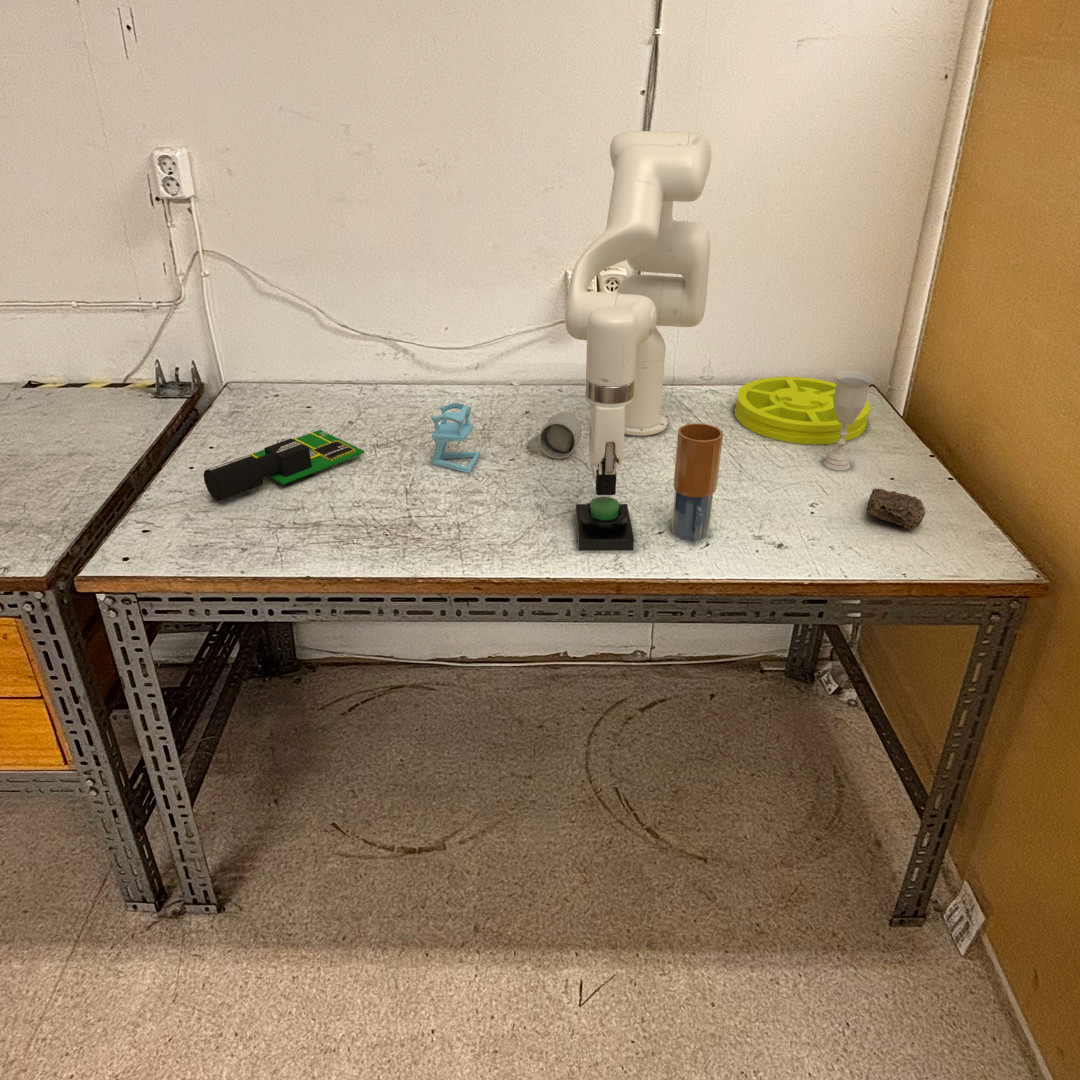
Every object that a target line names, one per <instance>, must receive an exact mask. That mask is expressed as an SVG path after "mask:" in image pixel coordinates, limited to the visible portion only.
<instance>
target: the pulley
mask: <svg viewBox="0 0 1080 1080" xmlns="http://www.w3.org/2000/svg"><path fill="white" fill-rule="evenodd" d="M836 383H837V382H832V381H827V380H823V379H818V378H812V377H804V376H803V377H802V376H773V377H765V378H759V379H755V380H752V381H749V382H747V383H745V384H744V385H742V386H741V387H739V389H738V390H737V392H736V399H735V408H734V416H735V418H736V420H737V421H738V423H739V424H740V425H742V426H743V427H744V428H746V429H748V430H749V431H751V432H753V433H755V434H758V435H760V436H763V437H765V438H768V439H769V438H770V439H773V440H777V441H781V442H785V443H792V444H793V443H794V444H802V445H831V444H832V445H833V444H838V443H837V440H839V438H840V434H839V432H840V430H841V428H842V424H841V423H839V422H838V420H837V416H836V413H835V409H834V403H833V399H834V394H835V388H836ZM869 412H870V403H869V401H868V399H866V403H865V406H864V408H863V409H862V411H861V413H860V414H859V415H858V417H857V418H856V419H855V421H854V422H853V423H852V424H849V425H847V428H846V432H847V435H846V436H845V438H844V439H845V442H847V441H851V440H853V439H856V438H857V437H859V436H861V435H862V434H863V433H864V432H865V430H866V427H867V422H868V417H869V414H870V413H869Z"/></svg>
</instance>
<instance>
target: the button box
mask: <svg viewBox="0 0 1080 1080" xmlns="http://www.w3.org/2000/svg"><path fill="white" fill-rule="evenodd" d="M590 503H591V502H589V503H576V504H575V524H576V525H575V526H576V535H577V546H578V551H579V552H588V551H589V552H593V551H594V552H596V551H597V552H598V551H599V552H601V551H603V552H609V551H610V552H614V551H615V552H616V551H617V552H619V551H621V552H622V551H628V552H629V551H633V552H634V546H635V537H634V532H633V527H632V522H631V521H632V520H631V517H630V511H629V506H628V503H619V515H618V517H617V518H614V519H611V520H599V519H596V518H593V517H592V516H591V515H590Z"/></svg>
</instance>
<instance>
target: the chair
mask: <svg viewBox="0 0 1080 1080" xmlns="http://www.w3.org/2000/svg"><path fill="white" fill-rule="evenodd" d="M453 409H456V410H459V411H458V412H454V411H450V410H453ZM439 410H440V411H441V414H439V415H436V416H431V420H432V422H433V424H434V431H433V432H432V433H431V439H432V440H434V442H435V446H434V452H433V456H432V460H431V464H432V465H434V466H435V465H436V466H440V467H444V468H448V469H450V470H453V471H454V470H455V471H458V472H461V473H466V474H469V473H471V471H472V469H473V468H474V466H475V464H476V463H477V462H478V459H479V458H480V452H479V451H461V452H458V451H457V452H445V450H446V449H447V445H448V444H449V443H451V442H463V443H465V441H466V440H467V438H468V436H469V435H470V434H471V432H473V430H474V424H473V423H471V422H470V416H471V412H472V407H470V406H468V405H466V404H464V403H460V402H453V403H450V404H446V405H444V406H439ZM449 421H451V422H449ZM438 422H440V423H438ZM464 458H472V459H471V460H470V461H469V463H468V464H467V465H466V466H465V465H461V464H458V463H455V462H452V461H447V460H449V459H450V460H452V459H464Z"/></svg>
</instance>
